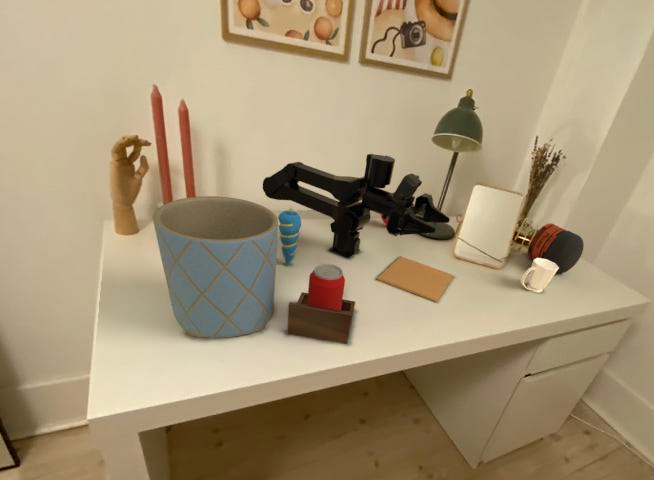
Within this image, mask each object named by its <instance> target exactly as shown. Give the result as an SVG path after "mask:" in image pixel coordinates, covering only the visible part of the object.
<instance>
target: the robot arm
mask: <svg viewBox="0 0 654 480" xmlns="http://www.w3.org/2000/svg"><path fill="white" fill-rule="evenodd" d="M365 162H366V163H365V169H364V176H361V177H358V176H357V177H356V176H344V175H343V176H341V175H335V174H333V173H330V172H327V171H324V170H321V169H318V168H316V167H313V166H309V165H308V164H304V163H303V162H301V161H295V162H289V163H287V164H286V165H285V166H284V167H282V168H281V169H280V170H278V171H277V172H275V173H273V174H272V175H270V176H266V177H265V178H264V179H263V180H262V190H263V192H264V195H265V197H267V198H269V199H272V200H275V201H290V202H293V203H295V204H298V205H301V206H302V207H306V208H308V209H310V210H312V211H315V212H317V213H320V214H322V215H324V216H327V217H329V218H331V219H333V222H331V223H330V224H329V225H330V231H331V233H333V239H332V240H333V241H332V247H329V249H328V251H329V252H332V253H334V254H336V255H339V256H341V257H344V258H345V259H350V258H352V257H354V256H355V255H356V254H359V253H360V251H361V250H360V249H361V248H360V245H361V238H360V235H361V233H360V231H361V230H362V231H363V229H364V227H365V226H367V225H368V224H369V223H370V221H371V212H373V213H375V214H378V215H380V216H381V215H383V216H382V218H383V219H388V223H387V225H386V228H385V230H386V231H387V232H388V234H389V235H391V236H394V237H397V236H406V235H418V234H419V235H421V234H422V235H423V234H435V233H436V231H437V228H436V227H435V226H434V225H433V224H434V223H437V224H448V223H450V220H451V218H450V217H449V216H447V215H446V214H445V213H444V212H443V211H441V210H439V208H437V207H436V206H435V204H434V199H433V195H432V194H429V193H426V192H425V193H423V194H421V195H418V196H417V197H416V196H414V194H416V191H417V190H418V189H419V187H421V185H422V183H423V181H422V180H421V179H420V175H418V174H417V175H416V174H415V173H413V172H412V173H409V174H406V175H404V176H403V178H402V179H401V181H400V183H399V184H398V185H397V188H396V189H395V191H394V192H390V191H388V190H384V189H385V188H386V186H390V185H391V182H392V177H393V172H394V167H395V163H396V159H395V158H394V157H391V156H389V155H382V154H374V153H368V154H366V157H365ZM300 182H301V183H304V184H306V185H309V186H311V187H314V188H317V189H320V190H322V191H326V192H327V193H329V194H331V195H332V197H333V198H331V197H328V196H326V195H324V194H321V193H319V192H316V191H313V190H311V189H309V188H306V187H304V186H301V185H300V184H299V183H300ZM382 218H381V219H382ZM430 223H433V224H430Z"/></svg>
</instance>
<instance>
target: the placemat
mask: <svg viewBox="0 0 654 480" xmlns="http://www.w3.org/2000/svg"><path fill="white" fill-rule="evenodd" d="M453 277H454V274H451V273H449V272H446V271H443V270H440V269H438V268H434V267H432V266H429V265H426V264H424V263H420V262H418V261H415V260H412V259H409V258H407V257H405V256H399V257H398V258H397V259H396V260H395V261H394V262H393V263H392V264H391V265H389V267H388V268H386V270H384V271H383V272H382V273H381V274H380V275H379V276H378V277H377V280H378V281H380V282H382V283H386V284H388V285H391V286H393V287H396V288H398V289H401V290H403V291H406V292H409V293H411V294H414V295H417V296H420V297H421V298H424V299H427V300H429V301H432V302H435V303H437V301H438V300H439V299H440V297H441V295H442V294H443V292H444V291H445V289H446V288H447V287H448V285H449V283H450V282H451V280H452V279H453Z"/></svg>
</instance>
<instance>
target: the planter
mask: <svg viewBox="0 0 654 480" xmlns="http://www.w3.org/2000/svg"><path fill="white" fill-rule="evenodd" d="M152 221H153V226H154V231H155V234H156V235H155V237H156V240H157V241H156V242H157V245H158V250H159V255H160V259H161V264H162V268H163V272H164V277H165V282H166V286H167V290H168V294H169V299H170V304H171V309H172V314H173V316H174V318H175V320H176V322H177V323H178V324H179V326H181V327H182V329H183V330H184V331H185V333H187V334H188V335H189V336H192V337H198V338H199V337H200V338H212V339H213V338H215V339H224V338H226V339H227V338H234V337H240V336H245V335H249V334H253V333H256V332H260V331H261V330H263V329H264V328H265V327H266V325H267V323H268V322H269V320H270V318H271V317H272V314H273V311H274V304H275V303H274V302H275V288H276V287H275V285H276V271H277V270H276V269H277V258H278V257H277V255H278V234H279V219H278V217H277V215H276V214H275V212H274V211H272V210H271V209H269V208H267V207H265V206H264V205H261V204H259V203H256V202H253V201H249V200H245V199H242V198H237V197H229V196H219V195H218V196H215V195H211V196H210V195H204V196H201V195H200V196H191V197H185V198H180V199H176V200H172V201H169V202H167V203H166V202H165V203H164V204H162V205H160V206H159V207H157V208H156V210H155V211H154V212H153V214H152Z"/></svg>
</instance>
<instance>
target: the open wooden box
mask: <svg viewBox="0 0 654 480" xmlns="http://www.w3.org/2000/svg"><path fill="white" fill-rule="evenodd" d="M307 302H308V292H304V291H302V292H300V295H299V297H298V299H297V302H293V301H289V303H288V309H287V311H288V312H287V335H290V336H291V335H292V336H297V337H303V338H308V339H315V340H321V341H326V342H331V343H332V342H333V343H339V344H345V345H347V344H348V343H349V342H348V341H349V337H350V331H351V327H352V322H353V318H354V311H355V307H356V306H355V305H356V301H355V300H349V299H344V298H343V300H342V307H341V311H339V310H333V309H328V308H322V307H316V306H310V305H307Z"/></svg>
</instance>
